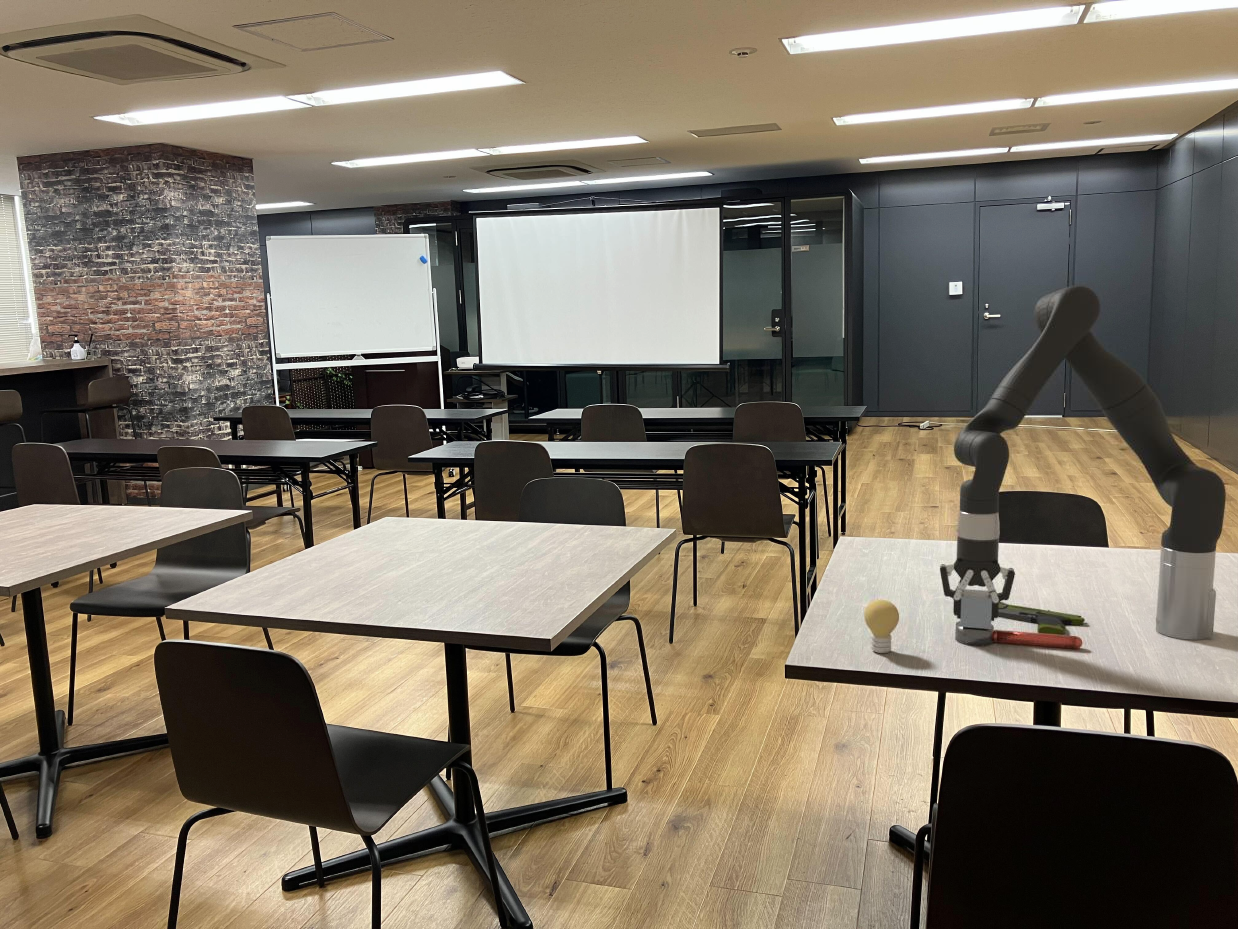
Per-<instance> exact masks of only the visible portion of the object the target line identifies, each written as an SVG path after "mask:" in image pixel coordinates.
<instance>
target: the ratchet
mask: <svg viewBox="0 0 1238 929" xmlns="http://www.w3.org/2000/svg"><path fill="white" fill-rule="evenodd" d="M954 630H955V636H954V640H955V641H956V642H957V643H960V644H962V645H965V646H969V647H988V646H990V645H993V644H994V643H999V644H1000V643H1001V644H1012V645H1024V646H1037V647H1049V648H1060V649H1061V648H1063V649H1074V650H1077V649H1080V648H1081V647H1082V646H1083V644H1084V642H1083V639H1082V638H1081V637H1080V636H1077V635H1069V634H1068V635H1067V634H1064V635H1056V634H1043V633H1038V632H1029V631H1013V630H1005V629H1004V630H1002V629H995V627H994V625H993V624H992V623H991V629H984V628H971V627H960V620H959V621H957V622H955V629H954Z"/></svg>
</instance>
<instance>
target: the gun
mask: <svg viewBox="0 0 1238 929" xmlns="http://www.w3.org/2000/svg"><path fill="white" fill-rule="evenodd" d="M997 618H1003V619H1009V620H1015V621H1016V620H1017V621H1021V622H1022V621H1023V622H1028V623H1031V624H1032V623H1033V624H1037V633H1043V634H1056V635H1065V625H1066V626H1067V625H1069V626H1070V625H1073V626H1082V625H1084V622H1085V618H1084V617H1082V615H1078V614H1071V613H1067V612H1066V613H1065V612H1059V611H1053V610H1050V609H1041V608H1034V607H1027V606H1021V605H1015V604H1008V603H1006V602H1003V601H1000V602H999V608H998V617H997Z"/></svg>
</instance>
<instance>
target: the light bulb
mask: <svg viewBox="0 0 1238 929" xmlns="http://www.w3.org/2000/svg"><path fill="white" fill-rule="evenodd" d="M863 617H864V621H865V624H866V626H867V627H868V629H869V630H870V631H871V635H870V638H871V639H870V644H871V645H870V649H871V650H872V651H873V652H874V653H878V654H886V653H889V652H890V651H891V650H892V635H891V633H892V632H893V631H894V630H895V629H896V627H897V626H898V624H899V622H900V613H899V610H898V608H897V607H896V605H895V604H894V603H893V602H891V601H889V600H887V599H877V600H873V601H871V602H869V603H868V604H867V605H866V607H865V610H864V614H863Z"/></svg>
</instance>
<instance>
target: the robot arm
mask: <svg viewBox="0 0 1238 929" xmlns="http://www.w3.org/2000/svg"><path fill="white" fill-rule="evenodd" d="M1100 314H1101V301H1100V299H1099V297H1098V295H1097V293H1096V292H1095V291H1094V290H1092V289H1091V288H1089V287H1087V286H1083V285H1072V286H1067V287H1064V288H1061V289H1058V290H1057V291H1053V292H1050V293H1048V294H1046V295H1044V296H1042V297H1041V298H1040V299H1039V300H1038V301H1037V303H1036V305H1035V307H1034V310H1033V319H1034V323H1035V326H1036V327H1037V329H1038V331H1040V336H1039V337H1038V339H1037V340H1036V342H1035V343H1034V344H1033V345H1032V347H1031V348H1029V350H1028V352H1026V354H1024V355H1023V357H1022V358H1021V359H1019V361H1018V362H1017V363H1016V364H1015V365H1014V366H1013V367H1012V368H1011V369H1010V370H1009V371H1008V372H1007V374H1006V375H1005V376H1004V378H1003V379H1002V381H1001V382H1000V383H999V384H998V386H997V388H996V389H995V391H994V393H993V394H992V395H991V397H990V399H989V400H988V402H987V404H986V405H985V406H984V408H983V409H982V410H980V411H979V412H978V413H977V414H976V415H975V416H974V417H972V419H971V420H970V421H968V423H967V424H966V425H965V426H964V427H963V428H962V429H961V430H960V432H959V433H958V434H957V437H956V439H955V442H954V444H953V454H954V456H955V458H956V460H957V461H958V462H959V463H961V464H962V465H965V466H968V467H971V468H973V467H974V472H973V473H974V474H973V477H972V478H970V479H967V480H965V481H963V482H962V483H961V485H960V489H959V511H958V512H959V513H958V519H957V529H956V531H957V532H956V533H957V534H956V535H957V537H956V560H955V561H954V563H953V564H943V563H942V564H940V565H939V572H940V578H941V584H942V589H943V595H944V596H945V597H947V598H948V597H949V598H950V599H953V605H952V606H953V608H952V611H953V615H954V616H956V619H958V620H960V618H961V594H963V592H964V590H965V589H967V587H968V586H969V587H975V586H978V587H980V588H981V587H983V588H984V587H985V588H986V589H987V590H986V591H988V592H989V594H990V596H992V614H991V622H995V619H998V618H999V617H998V608H999V602H1003V601H1008V600H1009V599H1010V595H1011V591H1012V588H1013V584H1014V580H1015V576H1016V572H1015V568H1013V567H1009V568H1007V567H1002V566H1001V565H1000V563H999V546H1000V545H999V544H1000V543H999V541H1000V532H1001V531H1000V517H999V514H1000V513H999V511H1000V510H999V508H1000V507H999V506H1000V505H999V504H1000V489H1001V487H1002V484H1003V481H1004V478H1005V474H1006V472H1007V468H1008V464H1009V460H1010V448H1009V444H1008V442H1007V440H1006V439H1005V437H1004V436H1002V435H1001V434H1002V433H1004V432H1006V431H1010V430H1015V429H1016V428H1018V427H1019V426H1020V424H1021V423H1022V422H1023V420H1024V418H1025V417H1026V415H1027V414H1028V412H1029V411H1030V409H1031V407H1032V406H1033V404H1034V403H1035V401H1036V399H1037V398H1038V396H1039V395H1040V393H1041V392H1042V390H1043V389H1044V388H1045V386H1046V384H1047V383H1048V381H1049V380H1050V378H1051V377H1052V375H1053V374H1054V373H1055V371H1057V369H1058V368H1059V367H1060V365H1061V364H1062V363H1063V361H1066V363H1067V365H1069V366H1070V367H1071V369H1072V370H1073V372H1074V373H1075V374H1076V376H1077V378H1078V379H1079V380H1080V382H1081V383H1082V385H1083V386H1084V387H1085V389H1086V390H1087V391H1088V392H1089V394H1090V396H1091V397H1092V398H1093V399H1094V401H1095V402H1096V404H1097V406H1098V408H1099V409H1100V410H1101V412H1102V414H1104V416H1105V417H1106V419H1107V420H1108V422H1109V423H1110V424H1111V425H1112V427H1113V428H1114V430H1116V432H1117V433H1118V435H1119V436H1120V437H1121V439H1123V441H1124V442H1125V443H1126V444H1127V446H1128V447H1129V448H1130V449H1131V450H1132V451H1133V453H1134V454H1135V455H1136V456H1137V457H1138V459H1139V460H1140V462H1141V464H1142V465H1143V467H1144V468H1145V470H1146V472H1147V474H1148V476H1149V478H1150V479H1151V481H1152V483H1153V485H1154V487H1155V488H1156V490H1157V492H1158V494H1159V496H1160V498H1161V499H1162V500H1163V502H1164V503H1166V505H1168V506H1170V507H1171V513H1170V514H1171V515H1170V523H1169V526H1168V528H1166V529H1165V530H1163V532H1162V533H1161V541H1160V556H1159V571H1158V573H1159V574H1158V588H1157V598H1156V601H1157V602H1156V614H1155V616H1156V617H1155V630H1156V631H1157V633H1160V634H1161V635H1164V636H1168V637H1170V638H1175V639H1182V640H1192V641H1193V640H1195V641H1196V640H1204V639H1209V640H1211V639H1214V628H1215V627H1214V626H1215V615H1216V599H1217V591H1216V590H1215V589H1214V581H1215V580H1214V579H1215V567H1216V566H1215V564H1216V554H1217V553H1216V552H1217V544H1218V540H1219V539H1220V538H1221V535H1222V531H1223V525H1224V519H1225V518H1224V517H1225V511H1226V510H1225V509H1226V500H1227V497H1226V496H1227V495H1226V494H1227V493H1226V486H1225V483H1224V480H1223V479H1222V478H1221V476H1219V475H1218V474H1217V473H1216V472H1214V471H1212V470H1210V469H1207V468H1204V467H1201V466H1199V465H1197V464H1196V463H1195V462H1194V461H1193V460H1192V459H1191V458H1190V457H1189V455H1187V453H1186V452H1185V451H1184V449H1182V447H1181V446H1180V445H1179V444H1178V442H1177V440H1175V437H1174V435H1173V433H1172V431H1171V429H1170V427H1169V422H1168V419H1167V417H1166V413H1165V411H1164V408H1163V407H1162V403H1161V402H1160V400H1159V398H1158V397H1157V396H1156V394H1155V393H1154V391H1153V390H1152V389H1151V387H1150V385H1148V383H1147V382H1146V380H1145V378H1143V377H1142V376H1141V374H1140V373H1139V372H1138V371H1136V370H1135V369H1134V368H1133V367H1132V366H1130V365H1129V364H1127V362H1125V361H1124V360H1122V359H1120V358H1119V357H1118V356H1117V355H1114V354H1113V353H1112V352H1111V351H1109V350H1108V349H1107V348H1106V347H1105V346H1103V345H1102V344H1101V342H1100V341H1099V340H1098V339H1097V338H1096V336H1095V335H1094V334H1093V332H1092V330H1091V329H1092V328H1093V327H1094V325H1096V322H1098V319H1099V317H1100ZM953 571H955V573H956V574H957V576H958V577H959V578H960V579H959V581H958V582H957V586H956V588H955V589H951V586H950V580H949V577H951V576H952V572H953ZM999 574H1001V576H1002V577H1001V578H1002V579H1003V580H1004V583H1003V587H1002V590H1001V592H997V589H996V588H995V584H994V582H993V580H995V579H996V577H997V576H998V575H999Z"/></svg>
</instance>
